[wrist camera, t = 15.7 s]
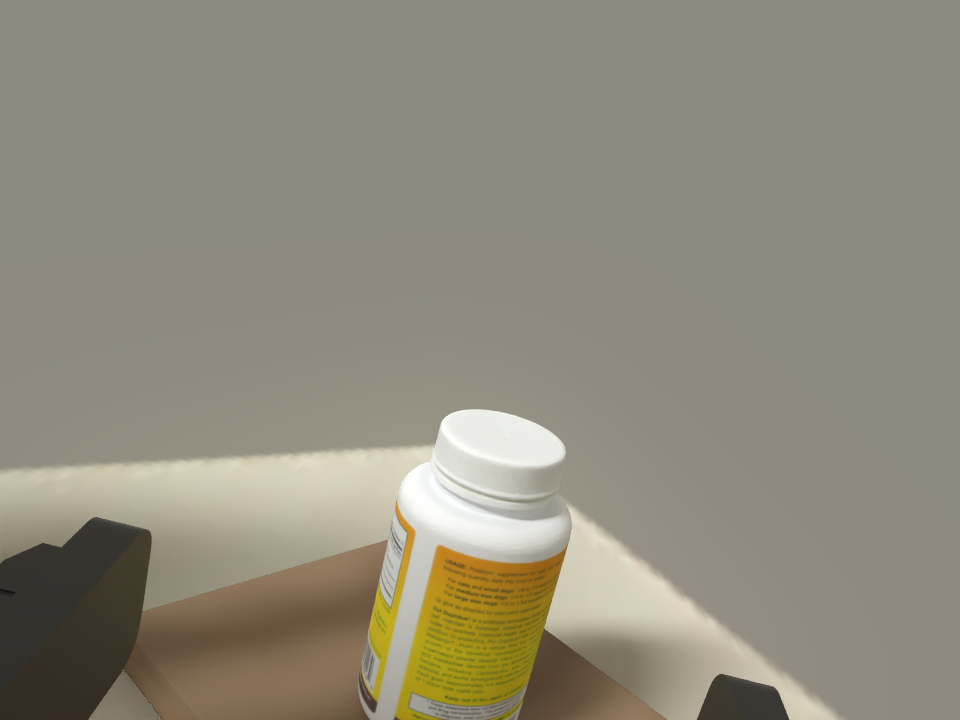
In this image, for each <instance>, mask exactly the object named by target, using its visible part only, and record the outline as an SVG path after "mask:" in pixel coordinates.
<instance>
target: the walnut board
mask: <svg viewBox="0 0 960 720" xmlns="http://www.w3.org/2000/svg"><path fill="white" fill-rule="evenodd" d="M387 543H388V540H386V541H383V542H379V543H376V544H372V545H369V546H366V547H362V548H359V549H355V550H352V551H348V552H345V553H342V554H338V555H335V556H331V557H328V558H324V559H321V560H318V561H314V562H311V563H307V564H304V565H301V566H297V567H294V568H290V569H287V570H283V571H280V572H277V573H273V574H270V575H266V576H263V577H259V578H256V579H253V580H249V581H246V582H242V583H239V584H236V585H232V586H229V587H225V588H222V589H218V590H215V591H212V592H208V593H205V594H201V595H198V596H195V597H191V598H188V599H184V600H181V601H177V602H174V603H171V604H167V605H164V606H160V607H157V608H153V609H150V610H147V611H143V612H142V615H141V622H140V627H139V632H138V635H137V639H136V642H135V645H134V647H133V650H132V652H131V655H130V657H129V659H128V661H127V663H126V665H125V667H124V670H125V671H126V672H127V673H128V675H129V676H130V677H131V679H132V680H133V681H134V683H135V684H136V685H137V686H138V688H139V689H140V690H141V692H142V693H143V694H144V695H145V697H146V698H147V699H148V701H149V702H150V703H151V704H152V706H153V707H154V708H155V710H156V711H157V712H158V714H159V715H160V716H161V717H162V719H163V720H370V719H369V718H368V716H367V715H366V713H365V711H364V709H363V706H362V704H361V701H360V697H359V691H358V680H359V673H360V668H361V663H362V659H363V654H364V650H365V645H366V640H367V636H368V630H369V626H370V621H371V617H372V612H373V607H374V603H375V598H376V593H377V589H378V584H379V579H380V575H381V571H382V566H383V561H384V557H385V552H386V548H387ZM517 720H666V719H665V718H664V717H662V716H661V715H660V714H658V713H657V712H656V711H654V710H653V709H652V708H650V707H649V706H648V705H646V704H645V703H643V702H642V701H641V700H639V699H638V698H637V697H635V696H634V695H633V694H631V693H630V692H629V691H627V690H626V689H625V688H623V687H622V686H621V685H619V684H618V683H617V682H615V681H614V680H612V679H611V678H610V677H608V676H607V675H606V674H604V673H603V672H602V671H600V670H599V669H598V668H596V667H595V666H594V665H592V664H591V663H590V662H588V661H587V660H585V659H584V658H583V657H581V656H580V655H579V654H577V653H576V652H575V651H573V650H572V649H571V648H569V647H568V646H567V645H565V644H564V643H563V642H561V641H560V640H559V639H557V638H556V637H554V636H553V635H552V634H550V633H549V632H548V631H546V630H545V629H544V630H543V633H542V636H541V639H540V643H539V647H538V650H537V654H536V657H535V661H534V664H533V667H532V671H531V674H530V678H529V681H528V684H527V688H526V692H525V695H524V698H523V702H522V706H521V709H520V712H519V715H518V718H517Z"/></svg>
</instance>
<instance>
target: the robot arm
mask: <svg viewBox="0 0 960 720" xmlns="http://www.w3.org/2000/svg"><path fill="white" fill-rule="evenodd" d="M151 539H152V538H151V533H150V531H149V530H146V529H142V528H138V527H134V526H130V525H126V524H122V523H118V522H114V521H110V520H106V519H102V518H98V517H95V518H92V519H91V520H89V521H88V522H87V523H86V524H85V525H84V526H83V527H82V528H81V529H80V530H79V531H78V532H77V533H76V534H75V535H74V536H73V537H72V538H71V539H70V540H69V541H68V542H67V543H66V544H65V545H64V546H63V547H62V548H61V547H57V546H53V545H49V544H45V543H42V544H40V545H37V546H35V547H33V548H31V549H28V550H26V551H24V552H21V553H19V554H17V555H15V556H12V557H10V558H8V559H5V560H4V561H3V562H2V563H1V564H0V720H88V719H89V717H90V716H91V714H92V713H93V712H94V710H95V709H96V707H97V706H98V705H99V703H100V702H101V700H102V699H103V697H104V696H105V695H106V693H107V692H108V690H109V689H110V687H111V686H112V685H113V683H114V682H115V680H116V679H117V677H118V676H119V675H120V673H121V672H122V670H123V669H124V667H125V665H126V663H127V661H128V659H129V657H130V655H131V652H132V650H133V647H134V645H135V642H136V639H137V635H138V632H139V627H140V622H141V615H142V608H143V601H144V594H145V587H146V580H147V572H148V565H149V558H150V551H151ZM697 720H789V718H788V715H787V713H786V710H785V708H784V705H783V703H782V700H781V697H780V695H779V693H778V691H777V690H776V688H774V687H772V686H768V685H764V684H760V683H756V682H752V681H748V680H744V679H740V678H736V677H732V676H728V675H724V674H719V675H718V676H716V677H715V679H714V680H713V682H712V683H711V686H710V688H709V690H708V693H707V695H706V698H705V701H704V703H703V706H702V708H701V711H700V713H699V716H698V718H697Z"/></svg>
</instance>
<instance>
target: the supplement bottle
mask: <svg viewBox="0 0 960 720" xmlns="http://www.w3.org/2000/svg"><path fill="white" fill-rule="evenodd" d="M432 455H433V457H432V460H431V461H429V462H426V463H423V464H421V465H419V466H417V467H416V468H414V469H413V470H412V471H411V472H409V473H408V475H407V476H406V477H405V479H404V480H403V482H402V484H401V487H400V490H399V493H398V497H397V501H396V506H395V511H394V515H393V519H392V524H391V529H390V534H389V539H388V543H387V548H386V552H385V557H384V561H383V566H382V571H381V575H380V579H379V584H378V589H377V593H376V598H375V603H374V607H373V612H372V617H371V621H370V626H369V630H368V636H367V640H366V645H365V650H364V654H363V659H362V663H361V668H360V673H359V680H358V691H359V697H360V701H361V704H362V706H363V709H364V711H365V713H366V715H367V716H368V718H369V719H370V720H517V718H518V715H519V712H520V709H521V706H522V702H523V698H524V695H525V692H526V688H527V684H528V681H529V678H530V674H531V671H532V667H533V664H534V661H535V657H536V654H537V650H538V647H539V643H540V639H541V636H542V633H543V630H544V626H545V623H546V619H547V616H548V612H549V609H550V605H551V602H552V598H553V595H554V591H555V588H556V584H557V581H558V577H559V574H560V570H561V567H562V563H563V560H564V556H565V553H566V549H567V546H568V542H569V538H570V534H571V529H572V522H571V516H570V513H569V510H568V508H567V506H566V504H565V503H564V501H563V500H562V499H561V497H560V496H559V495H558V494H557V493H556V492H557V489H558V488H559V485H560V476H561V472H562V469H563V465H564V462H565V458H566V450H565V447H564V445H563V443H562V442H561V441H560V440H559V439H558V438H557V437H556V436H555V435H554V434H553V433H551V432H550V431H548V430H547V429H545V428H543V427H541V426H540V425H538V424H536V423H534V422H531V421H528V420H526V419H523V418H520V417H517V416H514V415H511V414H507V413H502V412H497V411H490V410H462V411H457V412H454V413H451V414H449V415H448V416H447V417H445V418H444V419H443V421H442V423H441V426H440V430H439V434H438V438H437V442H436V446H435V447H434V449H433V454H432Z"/></svg>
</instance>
